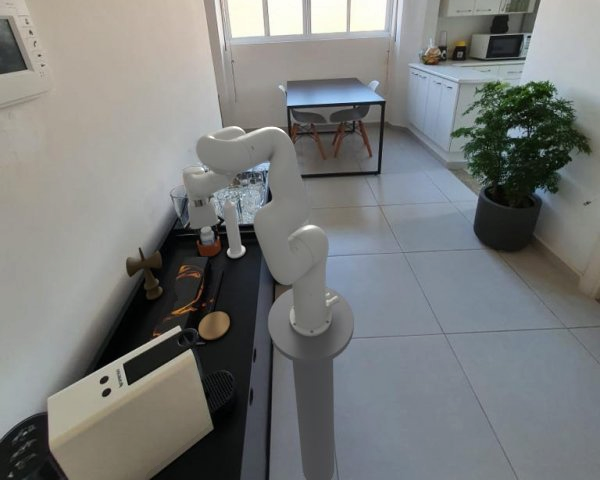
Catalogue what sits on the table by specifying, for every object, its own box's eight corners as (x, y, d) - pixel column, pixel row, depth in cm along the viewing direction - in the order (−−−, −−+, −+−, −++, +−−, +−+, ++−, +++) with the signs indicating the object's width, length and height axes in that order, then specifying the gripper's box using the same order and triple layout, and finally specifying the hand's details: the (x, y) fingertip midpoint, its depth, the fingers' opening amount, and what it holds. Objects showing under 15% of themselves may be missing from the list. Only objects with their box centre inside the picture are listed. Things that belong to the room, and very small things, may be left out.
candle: (228, 247, 124) (218, 193, 114) (245, 245, 125) (237, 191, 114) (226, 259, 118) (215, 203, 107) (245, 257, 118) (236, 201, 108)
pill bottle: (210, 243, 126) (206, 223, 123) (220, 247, 124) (216, 227, 120) (200, 251, 122) (195, 231, 118) (210, 255, 120) (205, 235, 116)
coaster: (223, 307, 97) (223, 306, 97) (234, 329, 90) (234, 327, 90) (195, 322, 93) (194, 320, 93) (203, 346, 86) (203, 344, 86)
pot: (217, 240, 129) (215, 230, 127) (223, 251, 122) (222, 241, 120) (196, 248, 125) (194, 238, 123) (202, 260, 118) (200, 249, 116)
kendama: (140, 292, 105) (123, 245, 97) (170, 284, 108) (156, 237, 100) (138, 306, 100) (120, 257, 92) (169, 297, 102) (155, 249, 94)
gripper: (222, 190, 119) (229, 229, 126) (175, 199, 115) (185, 238, 122) (224, 199, 113) (231, 240, 120) (174, 209, 108) (185, 250, 116)
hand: (208, 239), depth 121 cm, fingers closed on pill bottle, 5 cm apart
